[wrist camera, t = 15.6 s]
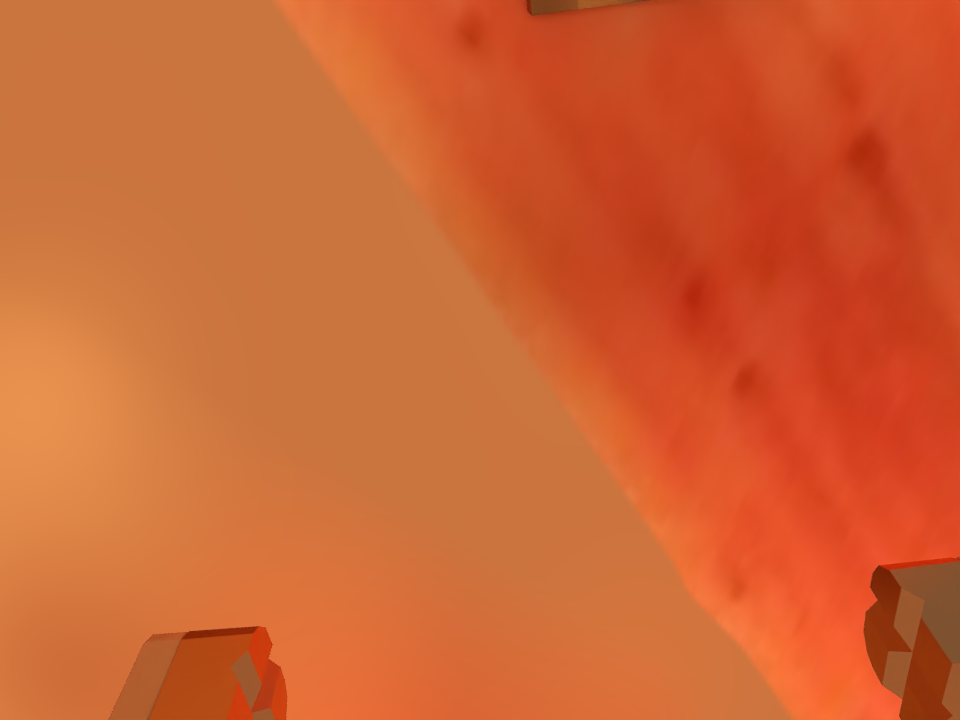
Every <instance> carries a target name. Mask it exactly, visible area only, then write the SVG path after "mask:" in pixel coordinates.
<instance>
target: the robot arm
mask: <svg viewBox="0 0 960 720" xmlns="http://www.w3.org/2000/svg"><path fill="white" fill-rule="evenodd" d="M870 588H871V590H872V591H873V593H874V595H875V596H876V598H877V601H876V602H875V603H874V604H873V605H872V606H871V607H870V608H869V609H868V610H867V611H866V614H865V622H864V630H863V631H864V637H865V643H866V650H867V653H868V656H869V659H870V662H871V664H872V667H873V669H874V671H875V673H876V675H877V677H878V679H879V680H880V682H881V684H882V686H884V687H885V688H887V689H888V690H890V691H891V692H893V693H894V694H896V695H897V696H899V697H900V698H902V704H901V709H900V714H899V717H900V719H901V720H960V557H957V558H943V559H933V560H924V561H915V562H905V563H896V564H887V565H878V567H877V568H876V569H875V571H874V572H873V574H872V579H871V584H870ZM271 648H272V642H271V640H270V637H269V635H268V632H267V630H266V628H265V627H260V626H256V627H241V628H228V629H213V630H199V631H189V632H179V633H166V634H153V635H152V636H151V637H150V638H149V639H148V640H147V641H146V642H145V643H144V644H143V646H142V648H141V650H140V652H139V655H138V657H137V659H136V661H135V663H134V666H133V668H132V670H131V672H130V674H129V676H128V678H127V680H126V683H125V685H124V687H123V689H122V691H121V694H120V696H119V698H118V700H117V702H116V705H115V706H114V709H113V711H112V713H111V715H110V717H109V720H286V712H287V692H286V685H285V679H284V676H283V673H282V670H281V667H279V666H278V665H277V664H275V663H274V662H272V661H271V660H269V655H270V651H271Z"/></svg>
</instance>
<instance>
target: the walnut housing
mask: <svg viewBox="0 0 960 720" xmlns="http://www.w3.org/2000/svg"><path fill="white" fill-rule="evenodd" d="M639 1H647V0H527V7H528V11H529V13H530V14H531V15H540V14H547V13H555V12H562V11H570V10H578V9H585V8H593V7H601V6H608V5H616V4H624V3H631V2H639Z"/></svg>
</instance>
